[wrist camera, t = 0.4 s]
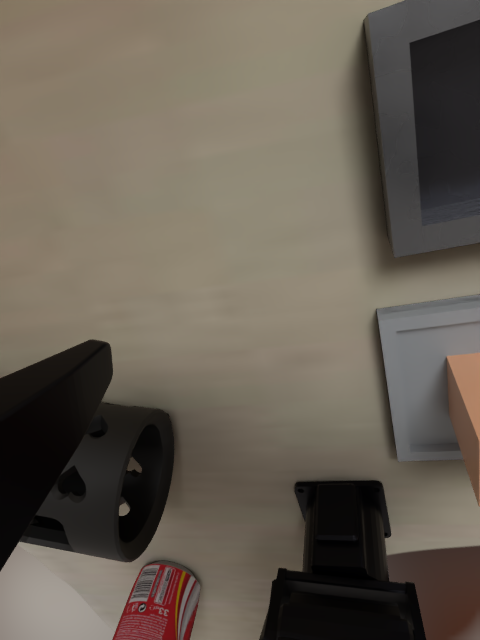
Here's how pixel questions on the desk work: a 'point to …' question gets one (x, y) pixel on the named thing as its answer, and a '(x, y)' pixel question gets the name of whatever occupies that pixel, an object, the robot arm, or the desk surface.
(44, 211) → the desk surface
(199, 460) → the desk surface
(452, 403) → the plug
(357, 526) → the robot arm
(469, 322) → the tray
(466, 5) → the socket
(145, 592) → the soda can
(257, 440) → the desk surface
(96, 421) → the muzzle brake
